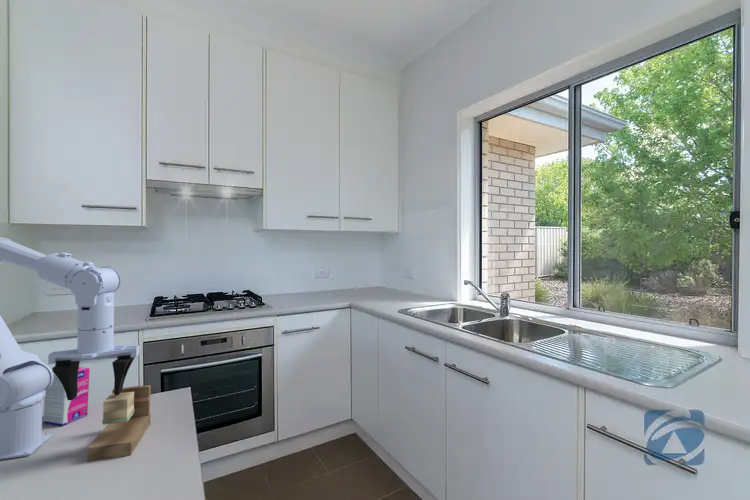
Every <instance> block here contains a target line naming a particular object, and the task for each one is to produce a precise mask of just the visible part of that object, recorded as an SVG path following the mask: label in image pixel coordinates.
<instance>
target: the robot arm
mask: <svg viewBox="0 0 750 500" xmlns="http://www.w3.org/2000/svg"><path fill="white" fill-rule="evenodd" d="M3 262H5V263H6V262H7V263H8V264H12V265H16V266H19V267H21V268H22V267H23V268H26V269H29V270H33V271H36V275H37V277H38V278H39V279H40V280H43V281H46V282H47V283H52V284H54V285H57V286H60V287H62V288H65V289H69V290H70V292H71V293H72V295H73V296H74V298H75V305H77V335H76V337H77V338H76V339H77V345H76V346H77V348H76V349H67V350H60V351H59V350H58V351H53V352H51V353H48V355H47V357H48V359H47V364H48V365H47V364H46V363H44V362H43V361H42V360H41V359H40V358H39V355H37V354H35V353H31V352H27V351H24V350H22V349H21V347H20V345H19V344H18V342H17V340H16V339H15V338H14V335H13V334H12V333H11V331H10V329H9V327H8V326H7V324H6V322H5V320H4V319H3V317H2V316H1V314H0V460H4V459H5V460H6V459H12V458H20V457H28V456H31V455H32V454H33V453H34V452H35V451H36V450H38V448H39V447H41V445H43V444H44V443H45V442H47V440H49V439H50V438H51V437H52V435H53V434H52V432H51V433H50V432H49V433H43V429H42V428H43V404H44V403H43V399H44V398H45V394H46V390H47V389H48V388H49V387H50V386H51V385H52V383H53V379H54V376H53V373H54V374H55V375H56V376H57V377H58V379H59V380H60V382H61V383H62V385H63V387H64V390H65V392H66V395H67V399H68V400H73V399H74V398H75V397H76V396H77V391H78V386H77V376H78V369H79V367H80V362H81V361H92V360H93V361H97V360H106V359H107V360H108V359H115V360H114V361H112V369H113V376H114V381H113V382H114V386H113V389H114V395H119V394H120V393H121V392H122V389H123V388H124V384H125V383H124V382H125V380H126V377H127V373H128V372H129V370H130V367H131V365H132V363H133V362H134V360H135V358H137V357H138V356H139V355H140V345H115V343H114V342H115V338H114V337H115V326H114V325H115V293H116V292H117V291H118V290H119V288H120V286H121V282H122V280H121V279H122V277H121V275H120V274H119V272H118V271H117V270H116V269H113V268H112V267H110V266H100V267H96V266H95V263H94V262H91V261H85V262H84V261H81V260H78V259H77V258H73V257H72V254H71V253H69V252H59V253H58V252H54V253H50V254H48V255H46V254H44V253H42V252H40V251H37V250H34V249H33V248H30V247H26V246H25V245H22V244H20V243H17V242H15V241H13V240H11V239H10V238H8V237H1V236H0V265H1V264H2V263H3ZM54 364H55V365H54ZM49 365H54V366H53V367H52V368H51V367H50V366H49ZM52 371H53V372H52Z"/></svg>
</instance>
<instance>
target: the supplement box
mask: <svg viewBox="0 0 750 500" xmlns="http://www.w3.org/2000/svg"><path fill="white" fill-rule="evenodd" d="M90 369H91V368H89V367H83V366H79V369H78V376H77V386H78V391H77V396H76V397H75V398H74V399H73V400H68V399H67V395H66V392H65V390H64V387H63V385H62V383H61V382H60V380H59V379H58V377H57V376H56V375H55V374H54V373H53V376H54V379H53V383H52V385H51V386H50V387H49V388H48V389H47V390H46V394H45V396H44V398H43V399H44V403H43V416H42V424H45V425H50V426H51V425H52V426H57V427H64V426H66V425H68V424H70V423H72V422H75V421H77V420H79V419H82V418H84V417H86V415H87V416H88V409H89V390H90V389H89V388H90V386H89V385H90V372H91V371H90ZM52 372H53V371H52Z"/></svg>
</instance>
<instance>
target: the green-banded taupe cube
mask: <svg viewBox="0 0 750 500" xmlns="http://www.w3.org/2000/svg"><path fill="white" fill-rule="evenodd" d="M102 412H103V413H102V420H101V421H102V422H101V423H102V425H103V426H104V425H108V424H114V423H122V422H127V421H128V420H129V419H130V417H131V416H132V415H133V413H134V392H125V393H120V394H119V395H114V394H112V393H111V394H110V395H109V396H107V398H106V399H104V400H103V410H102Z"/></svg>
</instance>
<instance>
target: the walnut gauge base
mask: <svg viewBox="0 0 750 500" xmlns="http://www.w3.org/2000/svg"><path fill="white" fill-rule="evenodd" d="M151 387H152V386H151V385H149V384H147V385H139V386H138V385H137V386H126V387H124V386H123V389H122V392H121V393H125V392H134V413H133V415H132V416H131V417H130V419H129V420H128V421H127V422H122V423H114V424H106V426H105V427H103V429H102V430H101V432H100V433H99V434H98V435H97V436H96V437H95V439H94V440H93V441H92V442H91V443H90V445H89V446H88V447H87V448H86V449H87V452H86V455H87V457H86V461H87V462H94V461H99V460H107V459H113V458H119V457H120V458H121V457H127V456H132V454H133V452H134V451H135V449H136V448H137V446H138V445H139V443H140V441H142V440H141V439H142V438H143V436H144V435H145V434H146V431H147V430H148V428H149V427H150V425H151V415H152V413H151ZM111 394H114V388H113V389H112V392H111Z"/></svg>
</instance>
